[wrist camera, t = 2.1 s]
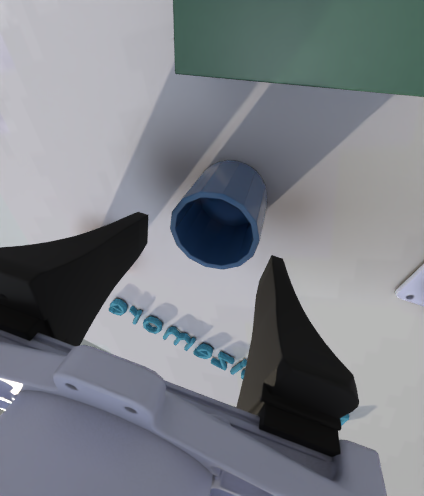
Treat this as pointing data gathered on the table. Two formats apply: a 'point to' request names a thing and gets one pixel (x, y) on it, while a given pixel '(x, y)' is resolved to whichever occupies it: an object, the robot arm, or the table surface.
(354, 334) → the table surface
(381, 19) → the flat green board
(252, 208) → the blue cup
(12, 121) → the table surface
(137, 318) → the nameplate
